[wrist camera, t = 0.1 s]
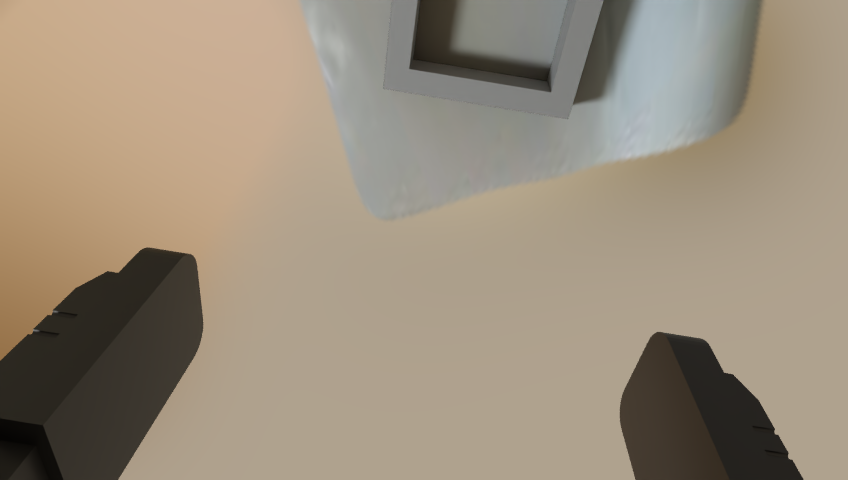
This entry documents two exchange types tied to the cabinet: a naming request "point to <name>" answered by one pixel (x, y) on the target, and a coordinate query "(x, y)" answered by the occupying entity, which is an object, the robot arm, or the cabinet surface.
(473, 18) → the cabinet surface
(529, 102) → the board
